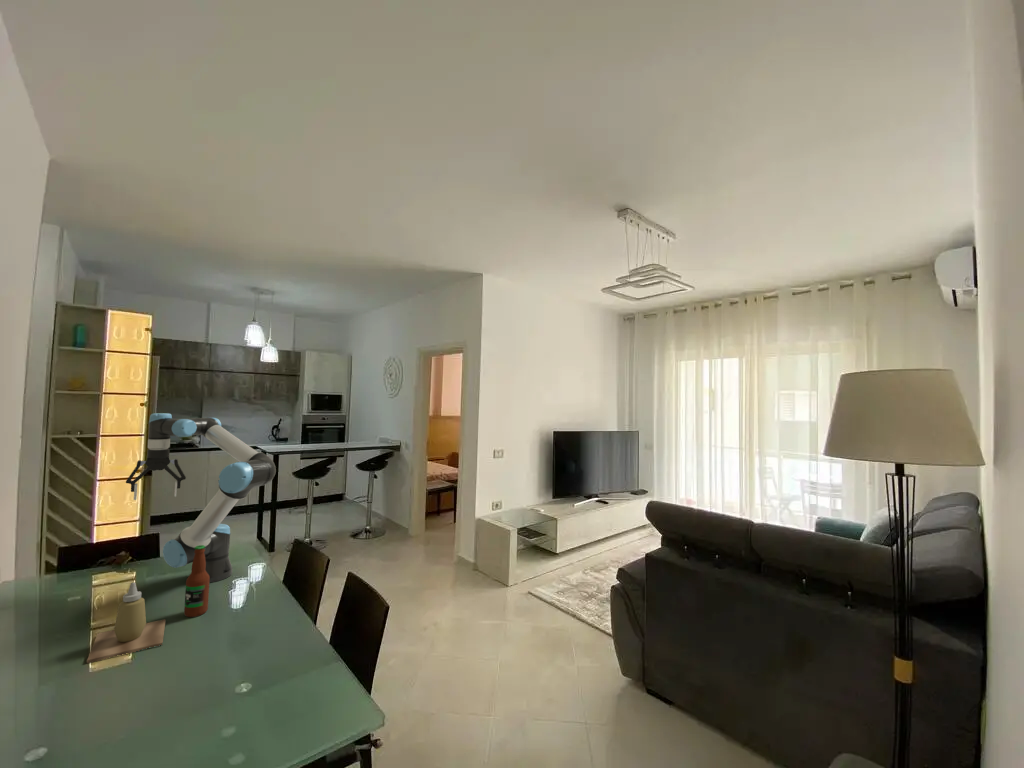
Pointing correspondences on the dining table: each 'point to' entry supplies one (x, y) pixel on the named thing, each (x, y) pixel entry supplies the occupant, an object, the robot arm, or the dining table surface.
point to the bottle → (197, 586)
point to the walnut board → (110, 645)
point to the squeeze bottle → (130, 616)
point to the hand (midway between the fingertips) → (155, 497)
